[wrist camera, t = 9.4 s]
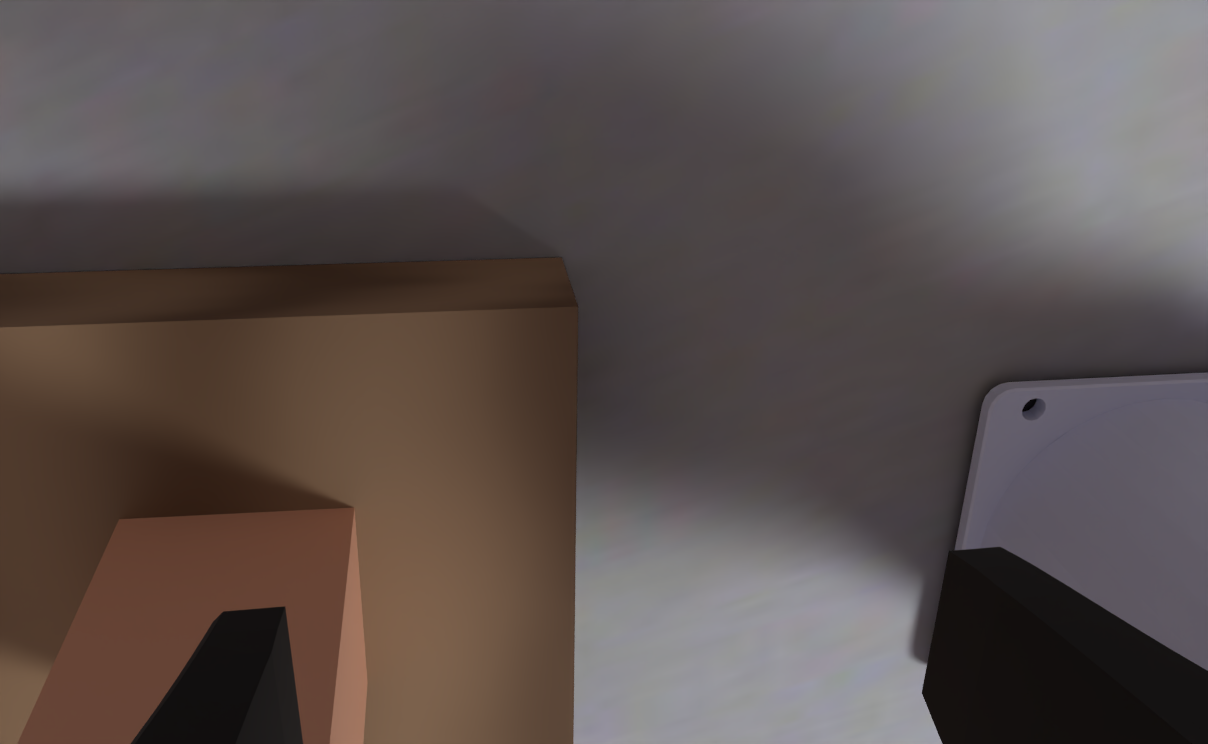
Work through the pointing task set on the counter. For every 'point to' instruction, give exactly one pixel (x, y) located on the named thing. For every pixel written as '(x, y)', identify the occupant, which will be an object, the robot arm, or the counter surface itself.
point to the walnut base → (313, 461)
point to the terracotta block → (209, 620)
